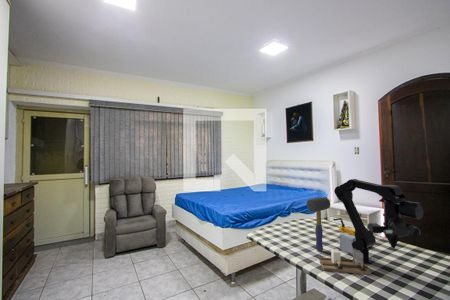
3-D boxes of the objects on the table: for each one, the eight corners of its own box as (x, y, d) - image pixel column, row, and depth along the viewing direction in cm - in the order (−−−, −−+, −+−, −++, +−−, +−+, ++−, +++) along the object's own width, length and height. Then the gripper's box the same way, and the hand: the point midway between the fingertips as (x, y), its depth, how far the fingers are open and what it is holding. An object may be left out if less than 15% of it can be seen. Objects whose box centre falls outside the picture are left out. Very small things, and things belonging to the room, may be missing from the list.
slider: (331, 260, 108) (331, 248, 108) (337, 260, 108) (337, 248, 108) (335, 267, 102) (335, 254, 102) (342, 268, 101) (342, 255, 101)
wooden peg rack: (319, 261, 110) (318, 247, 110) (362, 264, 107) (361, 249, 107) (324, 270, 101) (323, 255, 102) (371, 274, 98) (370, 258, 98)
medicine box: (358, 253, 119) (357, 237, 119) (353, 254, 117) (352, 238, 117) (344, 247, 126) (344, 232, 126) (339, 249, 124) (339, 233, 124)
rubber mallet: (316, 255, 116) (315, 199, 116) (306, 250, 123) (305, 197, 123) (332, 250, 121) (331, 197, 122) (321, 245, 128) (320, 195, 129)
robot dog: (336, 235, 144) (335, 215, 144) (364, 245, 128) (364, 223, 128) (330, 237, 141) (330, 216, 141) (359, 247, 125) (358, 224, 125)
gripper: (378, 217, 92) (379, 254, 92) (429, 219, 88) (430, 258, 88) (366, 210, 103) (367, 243, 102) (411, 212, 99) (411, 246, 99)
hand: (393, 247), depth 98 cm, fingers closed
